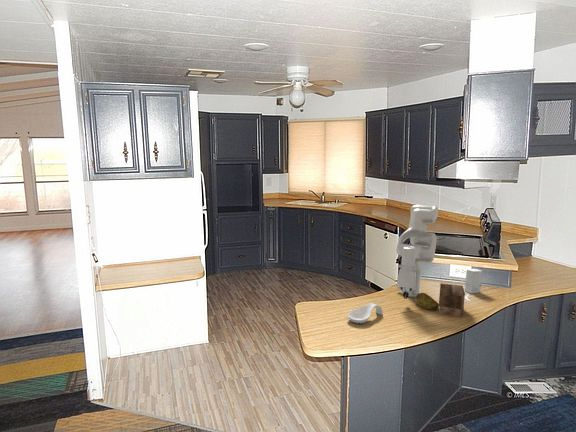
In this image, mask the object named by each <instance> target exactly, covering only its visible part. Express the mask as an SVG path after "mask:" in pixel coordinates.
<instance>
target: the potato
mask: <svg viewBox="0 0 576 432" xmlns="http://www.w3.org/2000/svg"><path fill="white" fill-rule="evenodd" d="M415 299H416V301H417V302H418V304H420V305H421V306H422V308H424V309H426V310H431V311H433V310H434V311H436V310H437V309H440V306H439V302H438V301H437V300H435V299H434V298H433V297H431V296H430V295H429V294H427V293H426V292H421V293H419V294H417V296H416V297H415Z"/></svg>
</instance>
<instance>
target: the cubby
mask: <svg viewBox="0 0 576 432" xmlns="http://www.w3.org/2000/svg"><path fill="white" fill-rule="evenodd" d="M465 298H466V291H465V287H464V286H463V285H460V284H459V285H458V284H450V283H449V284H448V283H442V282H441V283H440V285H439V297H438V304H439V315H445V316H446V315H447V316H451V317H453V316H454V317H460V318H462V317H463V316H464V310H465V309H464V308H465V307H464V306H465ZM453 307H454V308H453Z"/></svg>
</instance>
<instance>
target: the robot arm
mask: <svg viewBox="0 0 576 432" xmlns="http://www.w3.org/2000/svg"><path fill="white" fill-rule="evenodd" d="M409 211H410V219H409V222H408V223H409V224H408V228H407V230H405V231H404V232H403V233H402V234H401V235H399V238H398V240H397V244H396V255H398V256H400V257H401V264H399V265H398V268H400V269H399V271H398V276H397V277H398V278H397V284H396V290H398V291H401V295H402V297H403V299H405V300H407V299H408V298H416V296H417V294H419V293H422V292H421V291H420V290H421V278H422V277H421V276H422V266H421V264H420V263H428V264H431V263H433V262H434V259H435V255H436V254H435V253H436V248H437V239H438V238H437V235H436V234H435V233H434V232H430V231H429V232H428V231H427V225H426V224H434V223H435V221H436V220H437V218H438V217H439V208H438V206H435V205H425V204H415V205H412V206H411V207H410V210H409ZM408 239H409V241H410V244H409V243H408V244H407V243H404V242H405V241H406V240H408Z"/></svg>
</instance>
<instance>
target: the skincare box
mask: <svg viewBox="0 0 576 432" xmlns="http://www.w3.org/2000/svg"><path fill="white" fill-rule="evenodd" d="M482 275H483V270H480V269H478V268H471V269H470V268H467V269H466V274H465V285H464V292H465V293H466V292H467V293H469V294H476V293H477V294H478V293H481V288H482V287H481V286H482V277H483V276H482Z"/></svg>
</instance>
